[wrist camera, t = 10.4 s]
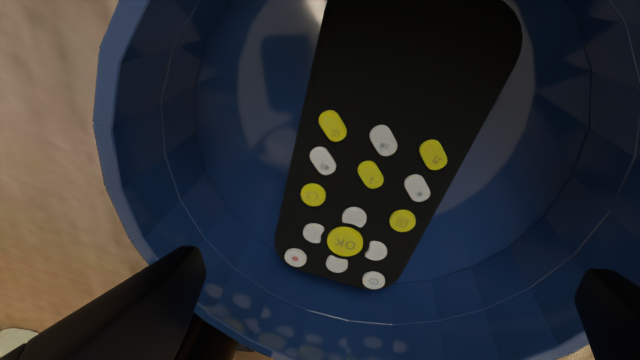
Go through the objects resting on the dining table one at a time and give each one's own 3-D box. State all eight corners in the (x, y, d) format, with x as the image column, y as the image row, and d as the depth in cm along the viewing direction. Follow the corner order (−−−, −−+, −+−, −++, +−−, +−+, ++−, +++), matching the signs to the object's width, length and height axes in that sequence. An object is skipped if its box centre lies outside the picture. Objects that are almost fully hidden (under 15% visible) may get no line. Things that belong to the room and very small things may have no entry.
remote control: (527, 7, 10) (556, 12, 9) (389, 274, 17) (390, 305, 15) (341, -46, 11) (333, -51, 9) (276, 240, 17) (265, 268, 16)
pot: (535, 294, 17) (594, 411, 12) (231, 273, 20) (185, 362, 15) (698, -145, 9) (1075, -300, 4) (132, -73, 11) (-38, -114, 7)
